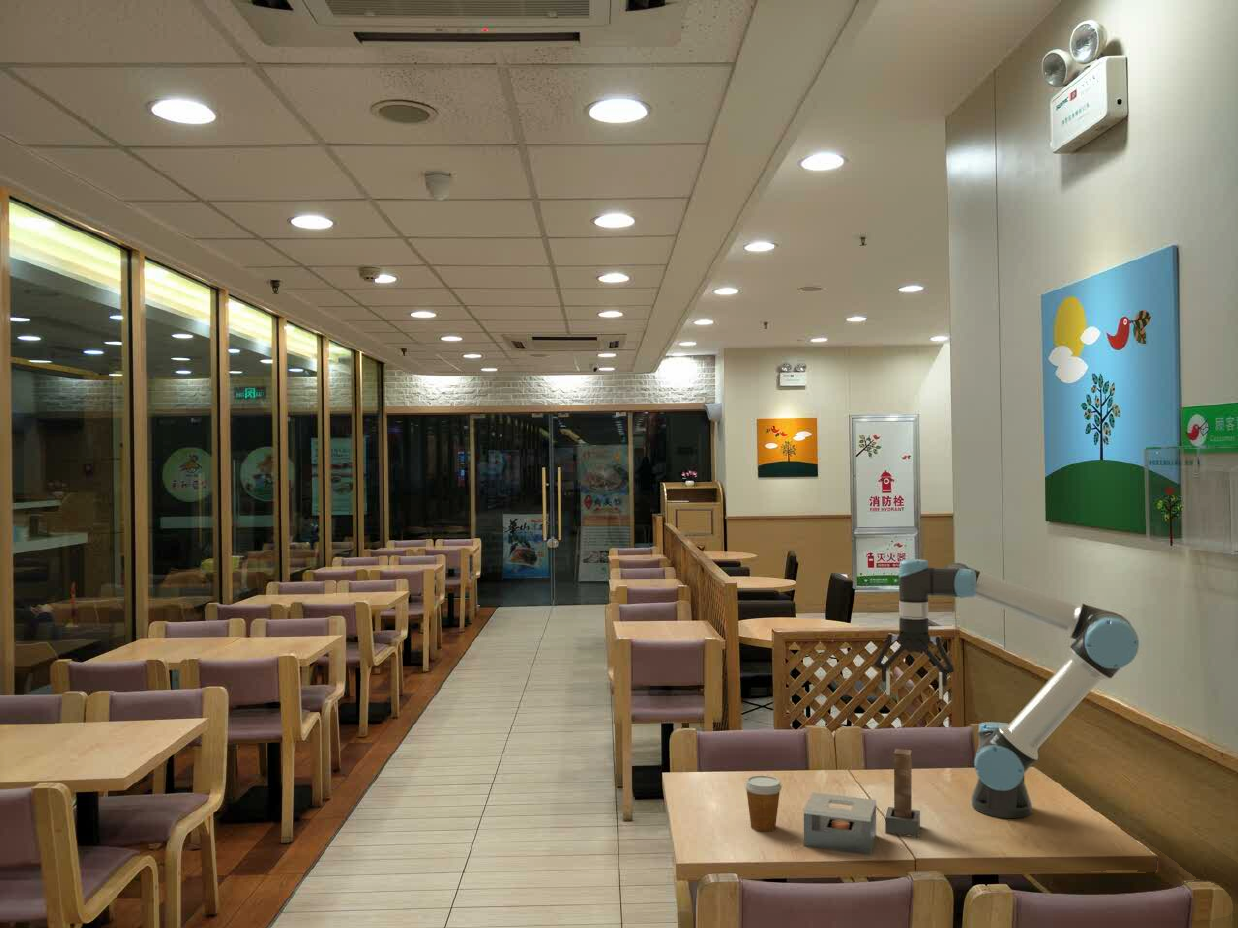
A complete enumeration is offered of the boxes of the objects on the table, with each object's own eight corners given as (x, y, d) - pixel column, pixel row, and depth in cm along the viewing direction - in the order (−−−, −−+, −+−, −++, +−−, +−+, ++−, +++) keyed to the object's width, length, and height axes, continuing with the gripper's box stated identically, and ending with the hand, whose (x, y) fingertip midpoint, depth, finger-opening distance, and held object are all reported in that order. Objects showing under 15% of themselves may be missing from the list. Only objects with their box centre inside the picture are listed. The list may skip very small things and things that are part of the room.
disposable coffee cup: (756, 817, 253) (756, 772, 253) (788, 825, 247) (788, 779, 247) (737, 827, 245) (737, 781, 245) (769, 836, 239) (769, 789, 239)
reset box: (876, 835, 240) (876, 799, 240) (870, 854, 228) (870, 817, 228) (812, 826, 246) (812, 792, 246) (803, 845, 234) (803, 808, 234)
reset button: (850, 836, 238) (850, 820, 238) (848, 843, 234) (848, 827, 234) (832, 834, 240) (832, 818, 240) (830, 840, 236) (830, 824, 236)
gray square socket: (920, 825, 246) (920, 810, 246) (918, 837, 239) (918, 821, 239) (888, 821, 249) (888, 806, 249) (885, 832, 242) (885, 817, 242)
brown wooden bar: (911, 827, 245) (911, 750, 245) (910, 833, 241) (910, 754, 242) (895, 825, 247) (895, 748, 247) (894, 831, 243) (894, 753, 243)
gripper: (963, 617, 255) (963, 696, 255) (867, 612, 263) (868, 689, 263) (962, 621, 248) (963, 702, 248) (864, 616, 256) (865, 695, 256)
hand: (914, 695), depth 255 cm, fingers open, 13 cm apart
